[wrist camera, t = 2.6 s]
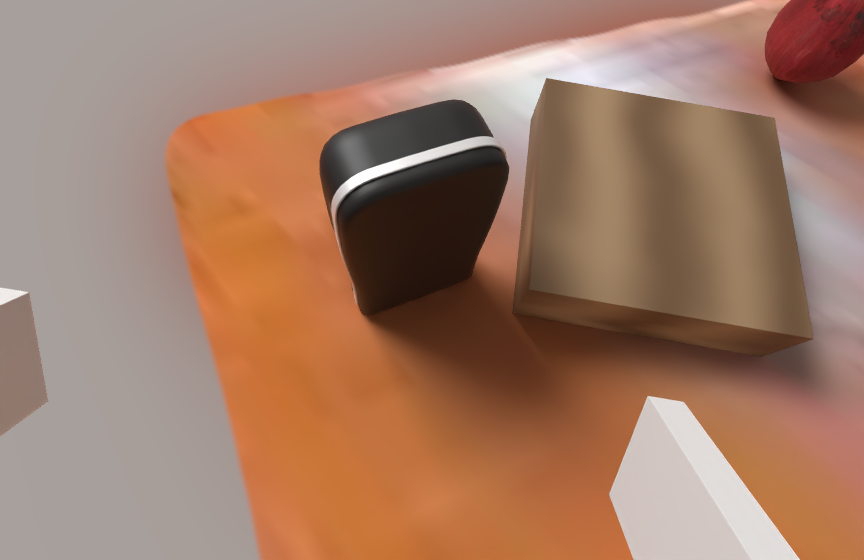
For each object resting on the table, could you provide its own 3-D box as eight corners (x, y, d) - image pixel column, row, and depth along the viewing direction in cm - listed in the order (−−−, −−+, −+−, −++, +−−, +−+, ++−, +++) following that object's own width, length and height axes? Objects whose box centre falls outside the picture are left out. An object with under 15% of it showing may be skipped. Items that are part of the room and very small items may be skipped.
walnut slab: (731, 159, 32) (774, 117, 28) (755, 358, 26) (813, 338, 23) (529, 124, 32) (546, 78, 28) (510, 316, 26) (529, 289, 23)
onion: (820, 116, 33) (939, 14, 26) (740, 97, 34) (836, -9, 26) (812, 58, 36) (920, -50, 28) (738, 42, 36) (826, -71, 29)
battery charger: (449, 223, 28) (480, 69, 17) (476, 278, 27) (527, 147, 16) (336, 261, 26) (297, 119, 16) (359, 321, 25) (332, 209, 15)
